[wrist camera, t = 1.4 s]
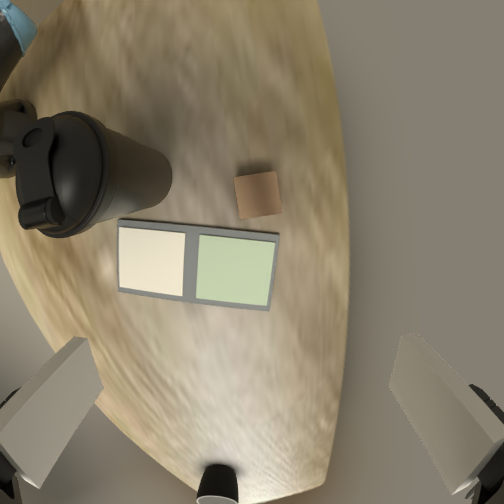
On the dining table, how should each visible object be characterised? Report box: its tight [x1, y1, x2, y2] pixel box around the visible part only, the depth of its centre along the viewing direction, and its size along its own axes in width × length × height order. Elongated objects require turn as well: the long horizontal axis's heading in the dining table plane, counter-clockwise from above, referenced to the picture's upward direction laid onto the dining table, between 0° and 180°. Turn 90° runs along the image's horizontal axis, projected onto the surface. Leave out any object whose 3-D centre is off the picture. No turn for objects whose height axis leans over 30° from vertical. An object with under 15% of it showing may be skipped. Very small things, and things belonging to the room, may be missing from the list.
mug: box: [196, 465, 238, 504], centre depth 45 cm, size 12×9×10 cm
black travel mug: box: [13, 111, 172, 238], centre depth 25 cm, size 10×10×23 cm
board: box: [117, 219, 280, 311], centre depth 38 cm, size 23×11×1 cm, turn 84°
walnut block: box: [233, 171, 282, 220], centre depth 35 cm, size 5×5×5 cm
